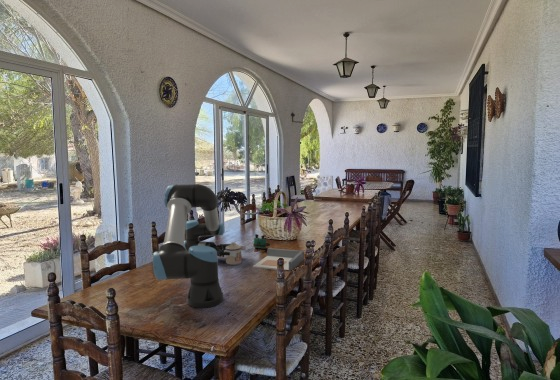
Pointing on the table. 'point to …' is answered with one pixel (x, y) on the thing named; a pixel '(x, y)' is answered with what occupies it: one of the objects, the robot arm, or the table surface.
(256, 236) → the binoculars
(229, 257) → the teacup with lid
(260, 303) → the table surface
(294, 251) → the tray
